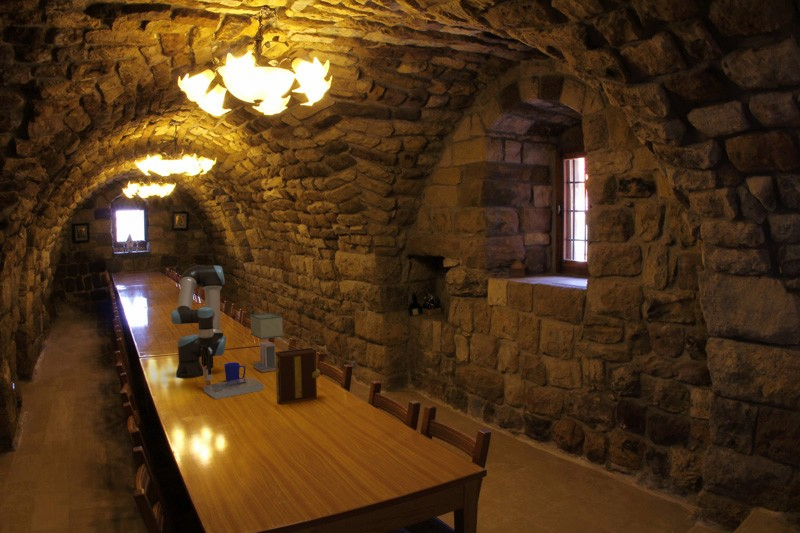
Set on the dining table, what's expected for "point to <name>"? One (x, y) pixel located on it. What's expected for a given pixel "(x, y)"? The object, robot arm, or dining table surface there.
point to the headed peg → (206, 377)
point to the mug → (233, 371)
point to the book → (296, 375)
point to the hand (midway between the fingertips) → (207, 379)
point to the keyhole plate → (233, 388)
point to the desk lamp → (264, 329)
